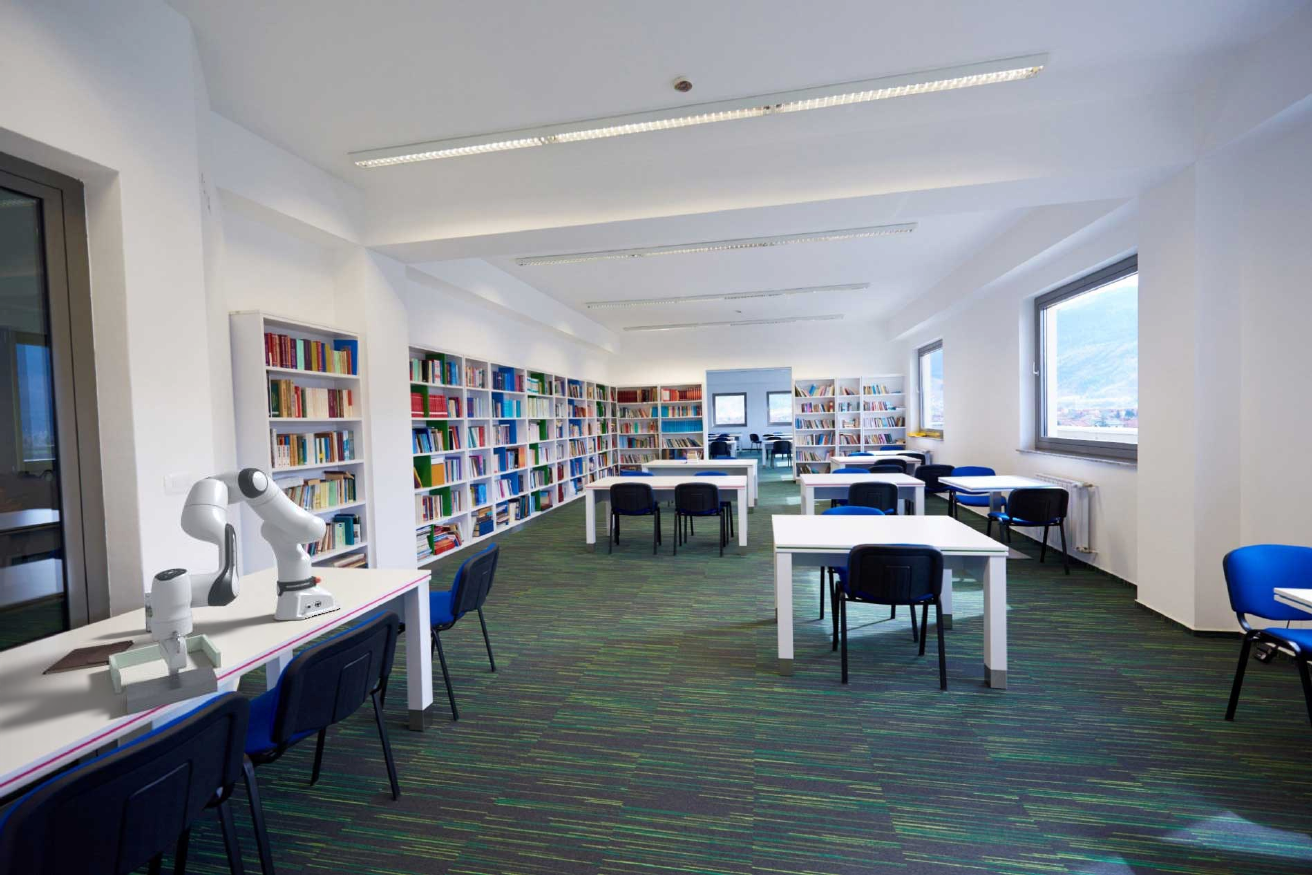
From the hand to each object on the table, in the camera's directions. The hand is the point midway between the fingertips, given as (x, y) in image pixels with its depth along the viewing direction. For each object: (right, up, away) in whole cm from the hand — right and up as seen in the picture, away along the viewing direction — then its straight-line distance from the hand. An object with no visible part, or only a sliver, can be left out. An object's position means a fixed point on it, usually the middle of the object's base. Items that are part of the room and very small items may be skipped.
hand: (173, 677), depth 159 cm
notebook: (-44, -4, +21) cm, 49 cm away
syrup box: (-46, -3, +48) cm, 66 cm away
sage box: (-12, -2, +11) cm, 17 cm away
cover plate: (+5, -3, -6) cm, 9 cm away
